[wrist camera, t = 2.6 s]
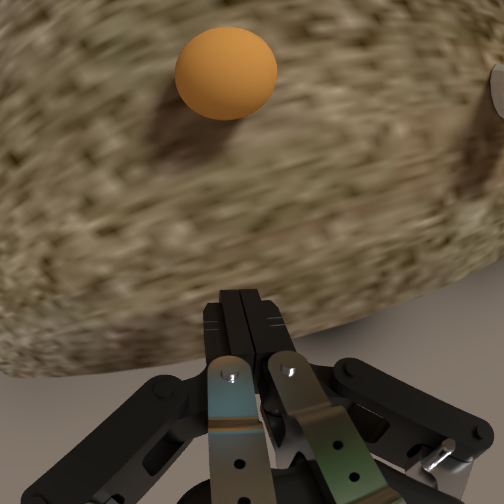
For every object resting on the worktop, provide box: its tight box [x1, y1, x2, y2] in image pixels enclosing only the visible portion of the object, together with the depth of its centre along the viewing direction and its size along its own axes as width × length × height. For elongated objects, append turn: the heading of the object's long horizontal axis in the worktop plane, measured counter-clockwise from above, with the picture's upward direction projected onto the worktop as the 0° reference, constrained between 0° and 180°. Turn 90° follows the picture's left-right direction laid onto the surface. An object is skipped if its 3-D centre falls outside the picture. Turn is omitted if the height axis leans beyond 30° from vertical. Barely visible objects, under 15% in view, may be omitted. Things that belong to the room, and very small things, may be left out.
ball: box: [175, 27, 277, 120], centre depth 14 cm, size 6×6×6 cm
